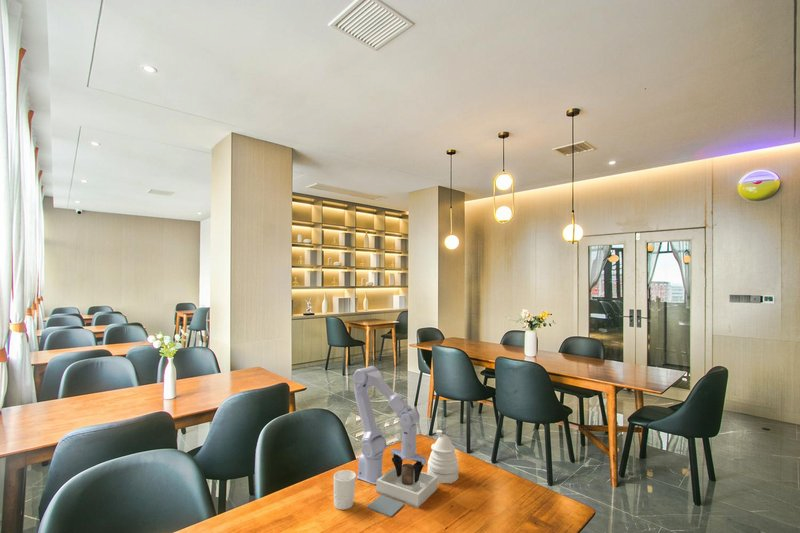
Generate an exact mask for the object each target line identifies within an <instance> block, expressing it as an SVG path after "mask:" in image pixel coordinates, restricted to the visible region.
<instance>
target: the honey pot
mask: <svg viewBox="0 0 800 533" xmlns="http://www.w3.org/2000/svg"><path fill="white" fill-rule="evenodd" d="M436 435H437V436H438V438H437V439H436V441H435V443H432V444H431V447H430V449H431V452H430V456H429V458H428V459H427V472H426V473H428V474H431V475H435V476H438V482H439V483H438V484H441V483H450V484H453V483H452V482H454V481H456V480H457V479H458V480H459V469H460V468H459V462H458V458H457V454H456V452H455V451H456V447H455V446H454V445H453V443H452V442H451V440H450V438H449V437H448V435H446V434H443V430H441V429H436ZM458 480H457V481H458ZM457 481H456V482H457ZM454 483H455V482H454Z"/></svg>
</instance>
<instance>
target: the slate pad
mask: <svg viewBox="0 0 800 533" xmlns="http://www.w3.org/2000/svg"><path fill="white" fill-rule="evenodd" d="M405 505H406V503H403V502H400V501H398V500H395V499H392V498H390V497H387V496H384V495H382V494H380V495H379V496H378V497H377V498H375V499H374V500H373V501H372V502H370V504H368V505H367V506H366V508H367V509H369V510H372V511H374V512H377V513H379V514H381V515H383V516H386V517H389V518H393V516H394V515H396V514H397V513H398V512H399V511H400V510H401V509H402V508H403V507H404V506H405Z"/></svg>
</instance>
